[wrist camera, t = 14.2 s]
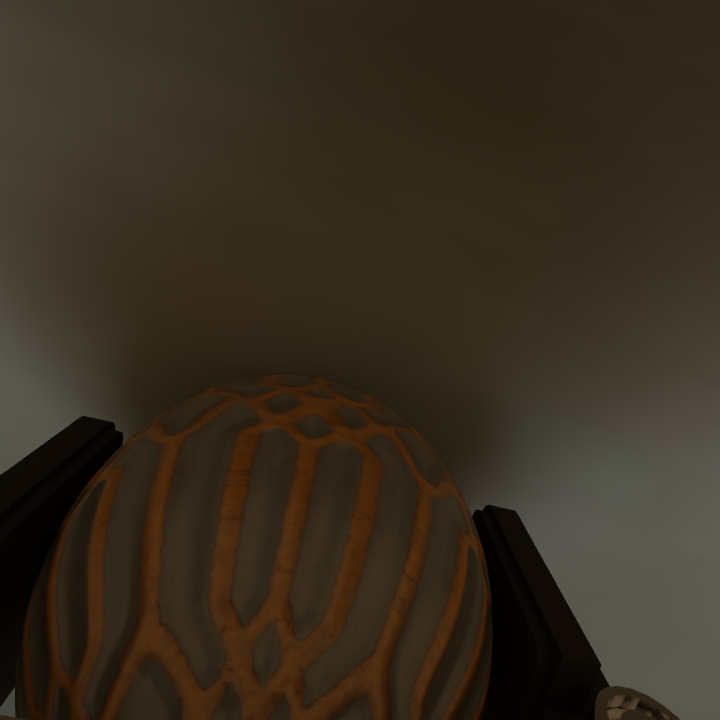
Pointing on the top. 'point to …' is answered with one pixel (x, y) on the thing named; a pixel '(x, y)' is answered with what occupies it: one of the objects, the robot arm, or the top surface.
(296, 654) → the vase
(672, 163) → the top surface
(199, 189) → the top surface
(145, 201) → the top surface
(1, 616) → the robot arm
